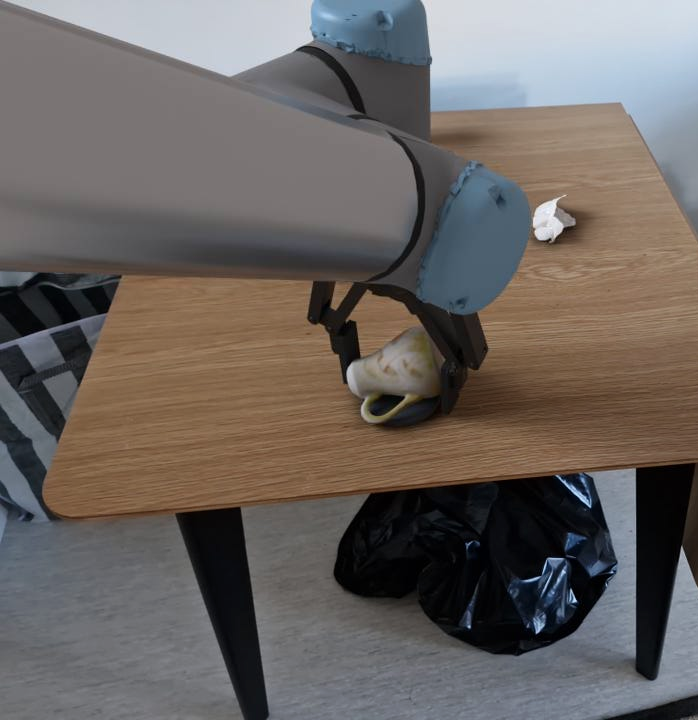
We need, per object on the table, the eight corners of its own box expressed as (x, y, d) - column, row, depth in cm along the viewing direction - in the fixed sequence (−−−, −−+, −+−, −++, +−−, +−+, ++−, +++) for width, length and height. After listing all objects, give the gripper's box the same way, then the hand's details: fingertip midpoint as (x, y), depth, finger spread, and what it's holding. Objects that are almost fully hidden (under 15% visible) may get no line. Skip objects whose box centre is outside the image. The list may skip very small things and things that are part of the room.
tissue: (518, 233, 93) (520, 208, 90) (548, 204, 98) (550, 179, 95) (556, 248, 91) (560, 223, 88) (585, 217, 96) (588, 192, 93)
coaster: (421, 435, 70) (421, 431, 69) (347, 412, 72) (346, 408, 71) (452, 379, 75) (452, 375, 75) (382, 358, 77) (382, 354, 76)
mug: (340, 371, 75) (378, 292, 70) (425, 403, 78) (467, 329, 73) (333, 414, 68) (375, 330, 64) (427, 446, 71) (472, 368, 67)
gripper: (537, 208, 57) (519, 394, 73) (284, 150, 62) (319, 336, 78) (506, 263, 52) (494, 450, 68) (234, 195, 57) (282, 384, 73)
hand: (400, 389), depth 73 cm, fingers closed on mug, 10 cm apart
